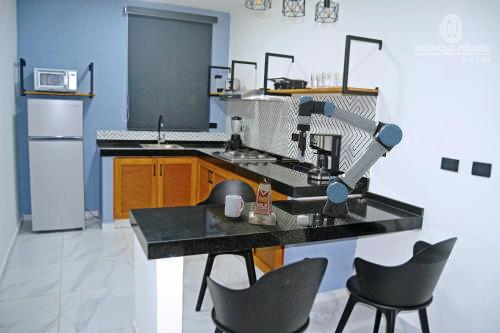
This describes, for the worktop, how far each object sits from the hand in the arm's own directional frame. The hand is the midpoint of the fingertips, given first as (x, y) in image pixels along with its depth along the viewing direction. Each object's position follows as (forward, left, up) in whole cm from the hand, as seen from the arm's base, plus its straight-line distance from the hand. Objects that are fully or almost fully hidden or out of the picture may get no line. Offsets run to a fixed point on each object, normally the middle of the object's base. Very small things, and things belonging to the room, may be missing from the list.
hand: (300, 160), depth 238 cm
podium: (+20, +21, -32) cm, 43 cm away
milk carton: (+20, +21, -28) cm, 40 cm away
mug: (+35, +13, -32) cm, 49 cm away
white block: (-2, +20, -32) cm, 38 cm away
